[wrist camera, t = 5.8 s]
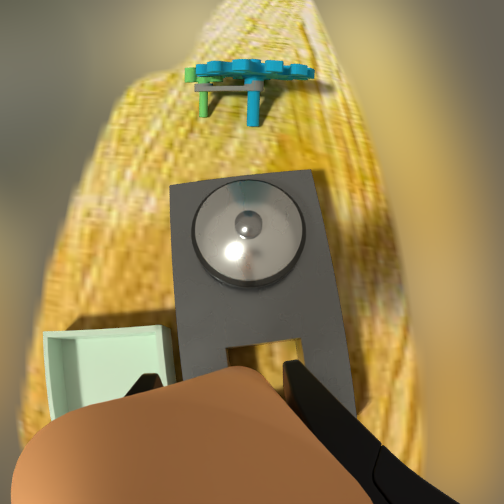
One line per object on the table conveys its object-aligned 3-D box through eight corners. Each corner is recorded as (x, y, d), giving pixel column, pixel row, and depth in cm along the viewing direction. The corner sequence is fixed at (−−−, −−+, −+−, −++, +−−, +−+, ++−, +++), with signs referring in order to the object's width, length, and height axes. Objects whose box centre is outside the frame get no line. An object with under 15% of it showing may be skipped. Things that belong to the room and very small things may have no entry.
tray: (194, 491, 18) (188, 505, 15) (82, 483, 17) (67, 493, 15) (170, 328, 21) (161, 324, 19) (60, 335, 21) (42, 331, 19)
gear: (316, 69, 27) (312, 52, 19) (313, 126, 30) (308, 134, 21) (206, 67, 29) (162, 56, 21) (206, 121, 32) (161, 130, 23)
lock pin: (277, 428, 13) (374, 638, 1) (207, 434, 13) (72, 632, 1) (268, 362, 14) (376, 370, 2) (199, 368, 14) (-17, 385, 2)
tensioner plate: (347, 426, 19) (370, 440, 15) (200, 447, 19) (188, 468, 14) (305, 186, 25) (315, 152, 21) (176, 201, 24) (162, 169, 20)
